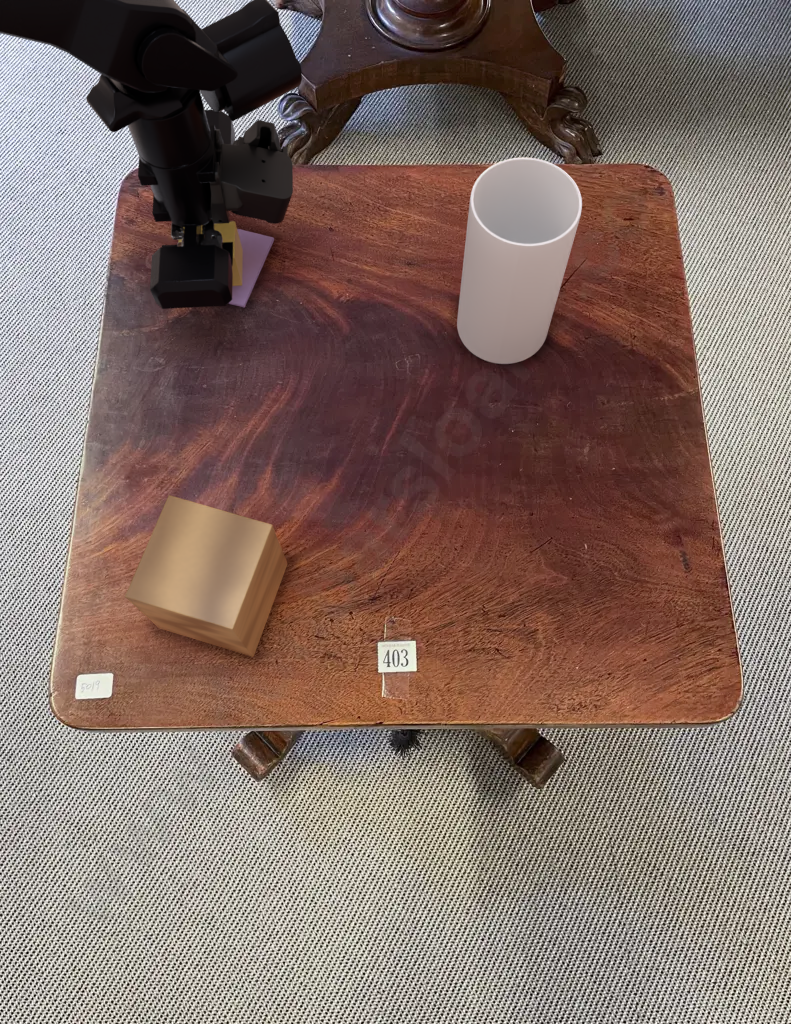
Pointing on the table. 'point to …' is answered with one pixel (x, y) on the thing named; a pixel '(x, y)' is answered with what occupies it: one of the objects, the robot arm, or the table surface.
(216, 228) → the cheese
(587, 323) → the table surface
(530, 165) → the cup
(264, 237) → the towel
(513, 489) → the table surface
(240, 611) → the stand
